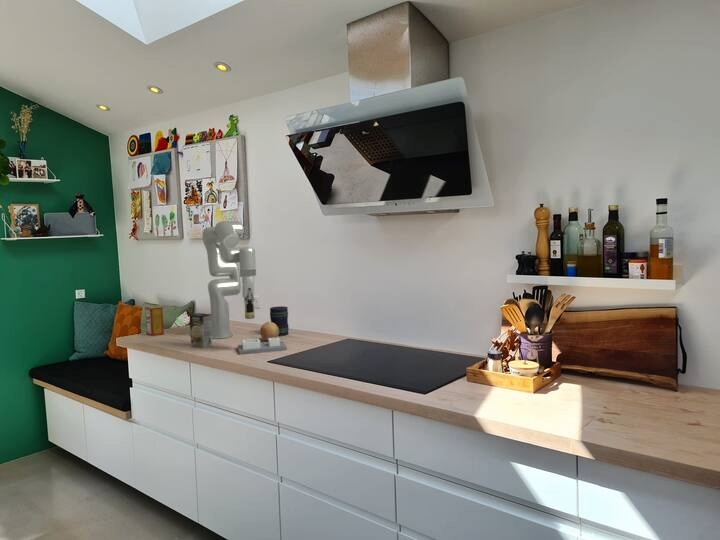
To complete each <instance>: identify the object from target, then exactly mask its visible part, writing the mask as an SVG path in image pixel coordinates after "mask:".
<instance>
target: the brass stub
mask: <svg viewBox="0 0 720 540" xmlns="http://www.w3.org/2000/svg"><path fill="white" fill-rule="evenodd" d="M252 298H253V310H254V312H250V313H247V310H246V304H247V299H246V297H245V298H244V297H243V299H244V319H245V320H251V319H252V320H253V319H255V296H254V297H252Z"/></svg>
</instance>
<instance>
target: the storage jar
mask: <svg viewBox="0 0 720 540" xmlns="http://www.w3.org/2000/svg"><path fill="white" fill-rule="evenodd" d="M269 317H270V322H273V323H275V324H276V325H277V326H278V329H279V335H278V337H286V336H288V335H289V327H290V326H289V323H288V321H289V320H288V318H289V308H288V306H281V305H280V306H272V307H269Z"/></svg>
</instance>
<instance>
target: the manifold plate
mask: <svg viewBox="0 0 720 540" xmlns="http://www.w3.org/2000/svg"><path fill="white" fill-rule="evenodd" d="M287 350H288V347H287V345H286V344H285V343H284V341H281V339H280V336H278V337H277V338H268V340H267V342H261V340H260V338H258V337H257V338H248V339H241V344H238V345H237V351H238V353H239V355H246V354H248V355H249V354H257V353H258V354H259V353H266V352H267V353H269V352H280V351H287Z"/></svg>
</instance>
